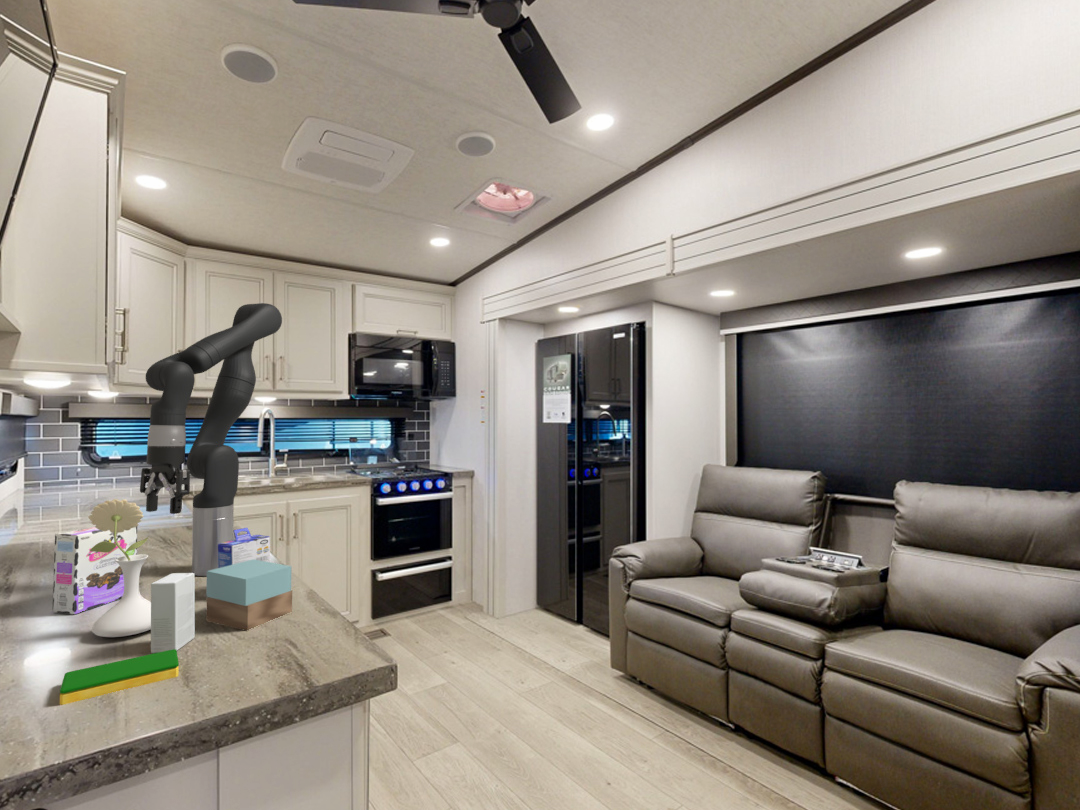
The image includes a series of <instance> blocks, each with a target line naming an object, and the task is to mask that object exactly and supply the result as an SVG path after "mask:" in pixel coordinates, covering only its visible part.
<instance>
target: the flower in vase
mask: <svg viewBox="0 0 1080 810" xmlns="http://www.w3.org/2000/svg"><path fill="white" fill-rule="evenodd" d="M90 514H91V515H89V516H88V519H89V521H91V524H92V525H94V527H96V528H97V529H99V530H102V531H108V530H110V532H111V533H114V541H115V543H111V542H106V541H102V542H100V543H98V544H96V545H95V546H94V547H93V548H92V549H91V550H90V551H92V552H111V551H112V550H113V549H114V548H115V547H116V545H117V547H118V548H119V549H120V550H121V551H122V552H123V553H124V555H125V556H123V557H120V558H117V559H115V561H116V562H117V563H118V564H119V565H120V567H121V569H122V572H123V577H124V593H123V596H122V598H121V599H119V601H118V602H117V603H116V604H114V605H113V607H111V608H110V609H108V610H107V611H106V612H105V613H103V614H102V615H101V616H100V617H99V618H98V619H97V620H96V621H95V622H94V623H93V626H92V627H91V632H92V633H93V634H94V635H95V636H98V637H101V638H102V637H103V638H121V637H127V636H132V635H137V634H141V633H145V632H148V631H149V630H150V631H151V600H148V599H146V598H145V597H143V595H141V593H140V575H141V570H142V567H143V565H144V563H145V561H146V560H147V559H148V557H149V555H148V554H141V553H140V554H139V553H137V555H127V553H126V552H127V551H130V550H134V549H136V548H137V549H138V548H140V547H141V546H143V545H144V544H145V543H147V540H149V536H147V537H145V538H144V539H142V540H139V541H138V540H137V542H136V543H134V544H132V545H131V546H130V547H129V548H128V549H127V550H126V551H124V550H123V549H122V548H121V547H120V545H119V544H118V543H117V540H116V533H119V532H124V530H130V529H131V528H134V527H137V528H138V527H139V526H140V525H139V523H141V522H142V519H143V518H144V517H145V516H144V515H143V514H144V512H143V511H142V510H141V507H140V506H139V505H137V503H136V502H128V499H126V498H125V499H121V500H119V499H117V498H114V499H112V500H110V499H108V500H107V499H106V500H104V502H102V503H98V504H97V505H96V506H93V508H92V510H91V512H90Z"/></svg>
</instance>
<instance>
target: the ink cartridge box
mask: <svg viewBox="0 0 1080 810" xmlns="http://www.w3.org/2000/svg"><path fill="white" fill-rule="evenodd" d="M233 532H234V535H235V539H236V540H232V541H228V542H224V543H220V544H218V568H221V567H225V566H229V565H233V564H237V563H241V562H245V561H249V560H253V559H254V560H260V561H265V562H271V536H269V535H262V534H254V535H252V534H251V533H250V532H251V531H250V530H249V529H248V527H244V528H237V529H233ZM241 532H244V533H243V534H240V535H238V534H239V533H241Z"/></svg>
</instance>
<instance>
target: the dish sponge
mask: <svg viewBox="0 0 1080 810" xmlns="http://www.w3.org/2000/svg"><path fill="white" fill-rule="evenodd" d="M179 665H180V664H179V657H178V650H176V649H173V650H168V651H163V652H159V653H151V654H146V655H142V656H136V657H131V658H127V659H126V658H125V659H122V660H118V661H113V662H108V663H104V664H98V665H95V666H90V667H86V668H81V669H75V670H71V671H68V672H65V673H64V676H63V679H62V682H61V684H60V685H61V686H60V689H59V705H60V706H64V705H69V704H71V703H75V702H76V703H77V702H80V701H84V700H88V699H93V698H96V696H97V697H99V696H100V697H101V696H105V695H108V693H109V694H113V693H117V692H121V691H120V690H122V691H125V690H124V689H126V690H129V689H128V688H130V689H133V687H134V688H137V687H142V686H145V685H150V684H154V683H158V682H161V681H166V680H169V679H174V678H177V677H179V672H180V671H179V670H180V669H179ZM116 691H117V692H116ZM112 692H113V693H112ZM104 694H105V695H104ZM92 697H93V698H92Z"/></svg>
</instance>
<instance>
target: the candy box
mask: <svg viewBox="0 0 1080 810" xmlns="http://www.w3.org/2000/svg"><path fill="white" fill-rule="evenodd" d="M116 540H117V543H118V544H119V545H120V547H121V548H122V549H123V550H124V551H126V550H127V549H128V548H129V547H130V546H131V545H132V544H134V543H136V542H138V526H137V527H134V528H131V529H130V530H124V532H119V533H116ZM102 541H106V542H111V543H115V541H114V533H111V532H110V530H108V531H102V530H99V529H97V528H96V527H95V526H91V527H86V528H81V529H77V530H72V531H66V532H60V533H55V535H54V559H53V560H54V561H53V562H54V563H53V585H52V586H53V587H52V589H53V590H52V613H58V614H66V615H73V614H74V615H77V614H79V613H80V612H81V613H82V611H84V612H86V611H89V610H92V609H94V607H95V608H97V606H98V607H101V606H104V605H107V604H109V603H108V602H110V603H113V602H115V600H116V601H118V599H119V600H121V598H122V596H123V593H124V577H123V572H122V569H121V567H120V565H119V564H118V563H117V562H116V561H115V559H117V558H120V557H123V556H125V555H124V553H123V552H122V551H121V550H120V549H119V548H118V547H117V545H116V547H115V548H114V549H113V550H112V551H111V552H92V551H90V550H91V549H92V548H93V547H94V546H95V545H96V544H98V543H100V542H102ZM126 553H127V555H137V554H138V548H136V549H134V550H130V551H127V552H126ZM112 601H113V602H112ZM106 603H107V604H106ZM103 604H104V605H103ZM100 605H101V606H100ZM91 608H92V609H91ZM88 609H89V610H88ZM85 610H86V611H85Z"/></svg>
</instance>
